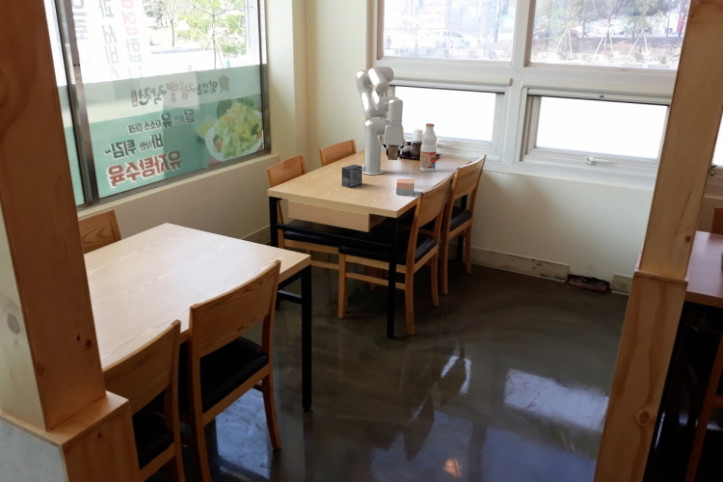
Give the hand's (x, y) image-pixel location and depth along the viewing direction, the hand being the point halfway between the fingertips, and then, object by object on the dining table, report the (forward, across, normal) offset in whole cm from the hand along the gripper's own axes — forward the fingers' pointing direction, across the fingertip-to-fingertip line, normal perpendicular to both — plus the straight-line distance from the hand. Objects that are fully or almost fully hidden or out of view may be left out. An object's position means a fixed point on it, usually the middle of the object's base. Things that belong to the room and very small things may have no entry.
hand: (393, 156), depth 320 cm
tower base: (+16, +8, -14) cm, 23 cm away
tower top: (+13, +8, -14) cm, 21 cm away
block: (+1, 0, 0) cm, 1 cm away
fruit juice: (+17, +18, +39) cm, 47 cm away
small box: (+17, -22, -4) cm, 28 cm away
